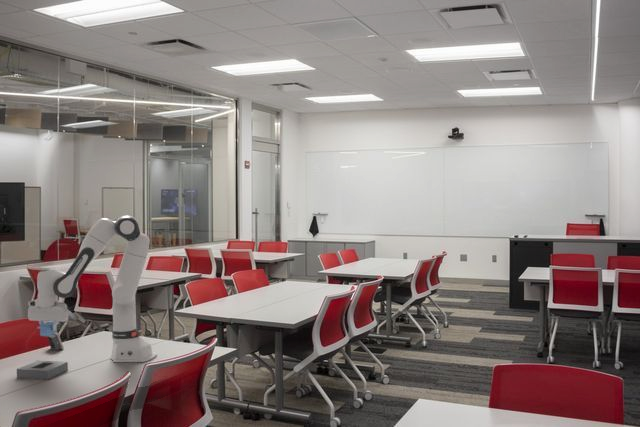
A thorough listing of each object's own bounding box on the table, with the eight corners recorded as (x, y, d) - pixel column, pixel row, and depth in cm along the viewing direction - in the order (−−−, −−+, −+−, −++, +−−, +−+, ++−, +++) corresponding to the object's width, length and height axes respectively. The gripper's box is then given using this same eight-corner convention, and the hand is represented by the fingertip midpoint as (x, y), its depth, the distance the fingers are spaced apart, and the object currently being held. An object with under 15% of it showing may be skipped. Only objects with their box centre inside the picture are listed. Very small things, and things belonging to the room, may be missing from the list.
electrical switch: (64, 349, 311) (61, 332, 311) (54, 352, 308) (51, 335, 307) (57, 346, 318) (55, 330, 317) (47, 349, 315) (45, 332, 314)
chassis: (67, 370, 274) (67, 361, 274) (47, 379, 260) (47, 370, 260) (38, 368, 277) (37, 360, 277) (16, 377, 264) (16, 369, 264)
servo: (59, 331, 288) (59, 317, 288) (44, 337, 277) (44, 322, 277) (52, 331, 289) (52, 317, 289) (37, 337, 278) (37, 322, 278)
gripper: (70, 301, 284) (71, 329, 284) (34, 300, 288) (35, 327, 288) (62, 303, 277) (63, 332, 278) (25, 302, 282) (26, 330, 282)
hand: (48, 330), depth 283 cm, fingers closed on servo, 4 cm apart
